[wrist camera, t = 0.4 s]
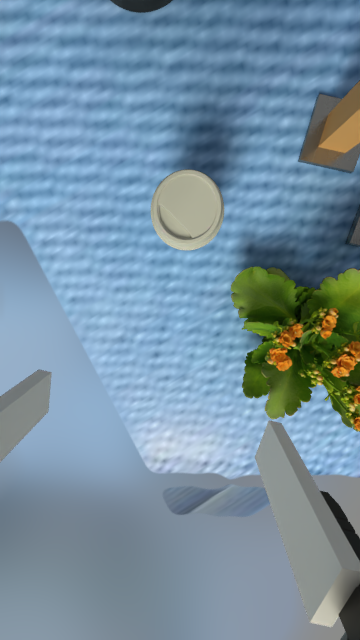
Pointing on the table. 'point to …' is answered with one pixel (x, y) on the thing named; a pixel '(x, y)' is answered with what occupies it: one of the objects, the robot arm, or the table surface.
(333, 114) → the tan rectangular bar
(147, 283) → the table surface
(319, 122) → the plate
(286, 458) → the robot arm
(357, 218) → the grey post stand
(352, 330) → the potted flower
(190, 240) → the coffee cup
